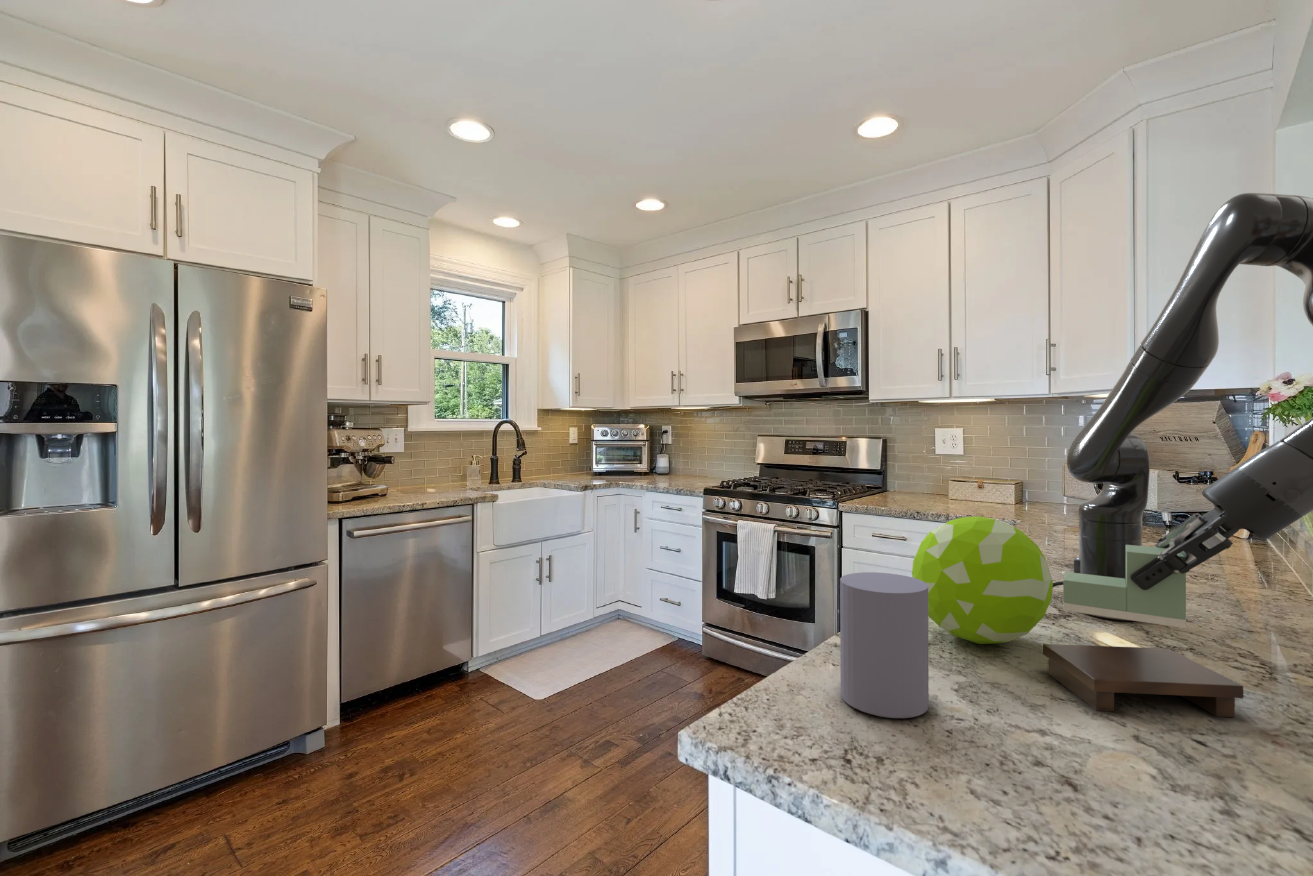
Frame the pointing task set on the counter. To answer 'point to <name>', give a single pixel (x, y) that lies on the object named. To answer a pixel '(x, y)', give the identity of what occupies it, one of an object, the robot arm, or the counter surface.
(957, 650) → the counter surface
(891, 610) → the container
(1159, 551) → the sage green stepped block
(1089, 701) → the shoe shelf
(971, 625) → the melon
